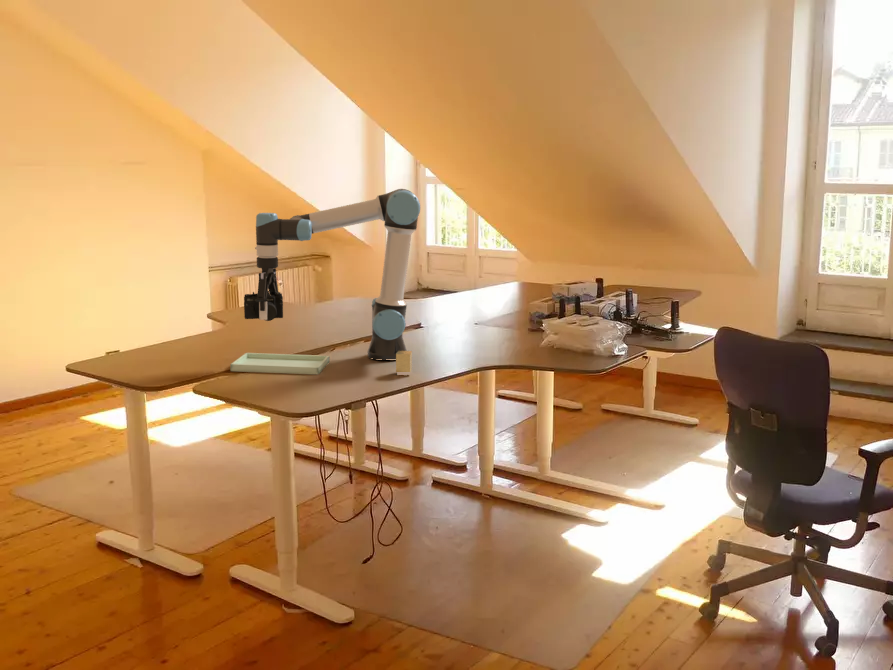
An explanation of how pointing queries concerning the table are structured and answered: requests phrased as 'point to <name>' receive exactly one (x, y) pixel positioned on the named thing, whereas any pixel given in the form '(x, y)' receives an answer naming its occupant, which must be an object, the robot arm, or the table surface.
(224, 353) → the table surface
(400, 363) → the brass block
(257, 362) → the tray
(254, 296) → the camera
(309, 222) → the robot arm
